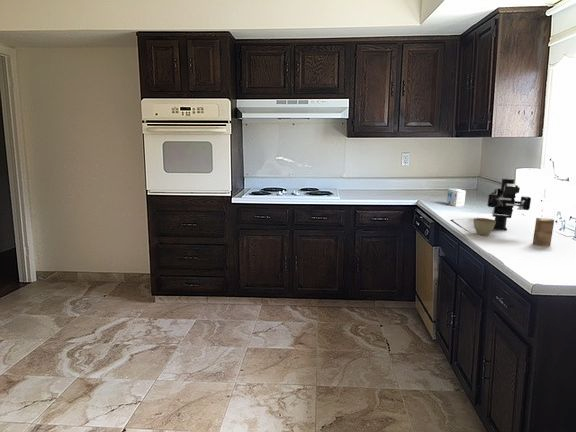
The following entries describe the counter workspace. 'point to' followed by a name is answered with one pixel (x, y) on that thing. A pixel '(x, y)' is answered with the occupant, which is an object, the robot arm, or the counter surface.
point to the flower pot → (484, 225)
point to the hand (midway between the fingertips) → (511, 204)
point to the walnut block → (543, 231)
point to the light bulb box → (456, 197)
